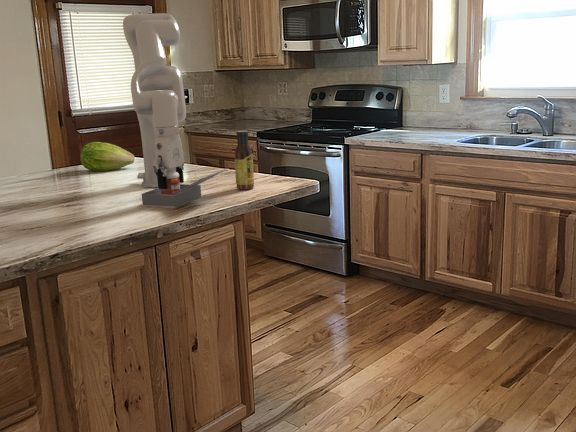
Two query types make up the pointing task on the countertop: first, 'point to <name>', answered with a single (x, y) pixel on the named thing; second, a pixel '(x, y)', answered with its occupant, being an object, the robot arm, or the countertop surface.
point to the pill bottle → (171, 182)
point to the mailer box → (171, 197)
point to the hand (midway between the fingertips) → (171, 185)
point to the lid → (201, 180)
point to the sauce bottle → (243, 162)
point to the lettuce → (105, 157)
